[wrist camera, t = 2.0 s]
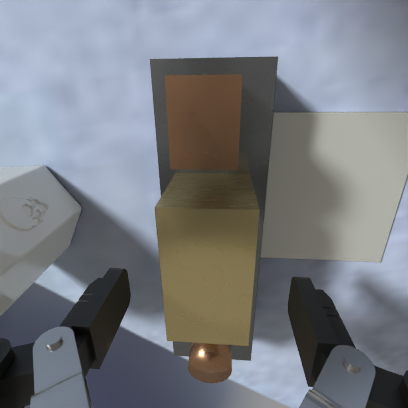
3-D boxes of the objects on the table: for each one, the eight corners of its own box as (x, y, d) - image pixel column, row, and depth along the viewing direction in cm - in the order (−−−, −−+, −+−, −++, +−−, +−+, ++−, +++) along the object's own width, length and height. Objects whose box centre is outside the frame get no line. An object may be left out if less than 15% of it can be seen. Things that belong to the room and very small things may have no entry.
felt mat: (272, 112, 19) (273, 112, 18) (423, 111, 18) (427, 112, 18) (260, 254, 23) (260, 257, 23) (377, 259, 23) (380, 262, 22)
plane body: (169, 66, 18) (96, 39, 8) (264, 64, 18) (314, 34, 7) (183, 309, 27) (156, 442, 17) (246, 313, 26) (258, 452, 16)
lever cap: (175, 173, 16) (154, 207, 11) (250, 174, 15) (259, 210, 11) (181, 280, 19) (167, 340, 14) (243, 282, 19) (248, 346, 14)
